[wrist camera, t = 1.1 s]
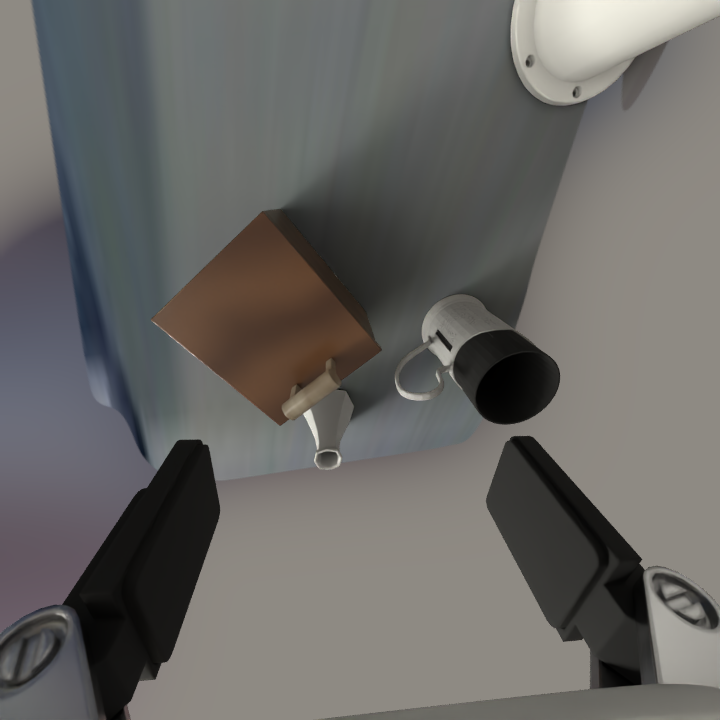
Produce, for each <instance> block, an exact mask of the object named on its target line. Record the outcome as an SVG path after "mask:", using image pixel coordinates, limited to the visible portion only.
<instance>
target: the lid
mask: <svg viewBox="0 0 720 720" xmlns="http://www.w3.org/2000/svg"><path fill="white" fill-rule="evenodd" d="M151 321H153V322H154V323H155V324H156V325H157V326H159V327H160V328H161V329H162V330H164V331H165V332H166V333H167V334H168V335H170V336H171V337H172V338H173V339H175V340H176V341H177V342H178V343H179V344H181V345H182V346H183V347H184V348H186V349H187V350H188V351H189V352H190V353H192V354H193V355H194V356H195V357H197V358H198V359H199V360H200V361H201V362H203V363H204V364H205V365H206V366H208V367H209V368H210V369H211V370H212V371H214V372H215V373H216V374H217V375H218V376H220V377H221V378H222V379H223V380H225V381H226V382H227V383H228V384H229V385H231V386H232V387H233V388H234V389H236V390H237V391H238V392H239V393H240V394H242V395H243V396H244V397H245V398H247V399H248V400H249V401H250V402H251V403H253V404H254V405H255V406H256V407H258V408H259V409H260V410H261V411H262V412H264V413H265V414H266V415H267V416H269V417H270V418H271V419H272V420H273V421H275V422H276V423H277V424H278V425H280V426H281V425H282V424H283V423H285V422H286V421H287V420H289V419H290V420H295V419H297V418H298V417H299V416H301V415H302V414H303V413H305V412H306V411H308V410H309V409H310V408H312V407H313V406H314V405H316V404H317V403H318V402H320V401H321V400H322V399H324V398H325V397H327V396H328V395H329V394H331V393H332V392H333V391H335V390H336V389H337V388H339V387H340V386H341V385H342V383H341V380H343V379H344V378H345V377H347V376H348V375H349V374H351V373H352V372H353V371H355V370H356V369H358V368H359V367H360V366H362V365H363V364H364V363H366V362H367V361H368V360H370V359H371V358H372V357H374V356H375V355H376V354H378V353H379V352H380V351H382V349H381V347H380V345H379V344H378V343H377V342H376V341H375V339H374V338H373V337H372V336H371V335H370V334H369V332H368V331H367V330H366V329H365V328H364V327H363V325H362V324H361V323H360V322H359V321H358V320H357V318H356V317H355V316H354V315H353V314H352V313H351V311H350V310H349V309H348V308H347V307H346V306H345V304H344V303H343V302H342V301H341V300H340V299H339V297H338V296H337V295H336V294H335V293H334V292H333V290H332V289H331V288H330V287H329V286H328V284H327V283H326V282H325V281H324V280H323V279H322V277H321V276H320V275H319V274H318V273H317V272H316V270H315V269H314V268H313V267H312V266H311V265H310V263H309V262H308V261H307V260H306V259H305V258H304V256H303V255H302V254H301V253H300V252H299V251H298V249H297V248H296V247H295V246H294V245H293V244H292V242H291V241H290V240H289V239H288V238H287V237H286V235H285V234H284V233H283V232H282V231H281V229H280V228H279V227H278V226H277V225H276V224H275V222H274V221H273V220H272V219H271V218H270V217H269V215H268V214H267V213H266V212H265V211H262V212H261V213H260V214H259V215H258V216H257V217H256V218H255V219H254V220H253V221H252V222H251V223H250V224H249V225H248V226H247V227H246V228H245V229H244V230H243V231H242V232H240V233H239V234H238V235H237V236H236V237H235V238H234V239H233V240H232V241H231V242H230V243H229V244H228V245H227V246H226V247H225V248H224V249H223V250H222V251H221V252H220V253H219V254H218V255H217V256H216V257H215V258H214V259H213V260H212V261H211V262H210V263H208V264H207V265H206V266H205V267H204V268H203V269H202V270H201V271H200V272H199V273H198V274H197V275H196V276H195V277H194V278H193V279H192V280H191V281H190V282H189V283H188V284H187V285H186V286H185V287H184V288H183V289H182V290H181V291H180V292H179V293H178V294H176V295H175V296H174V297H173V298H172V299H171V300H170V301H169V302H168V303H167V304H166V305H165V306H164V307H163V308H162V309H161V310H160V311H159V312H158V313H157V314H156V315H155V316H154V317H153V318H152V319H151Z"/></svg>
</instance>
